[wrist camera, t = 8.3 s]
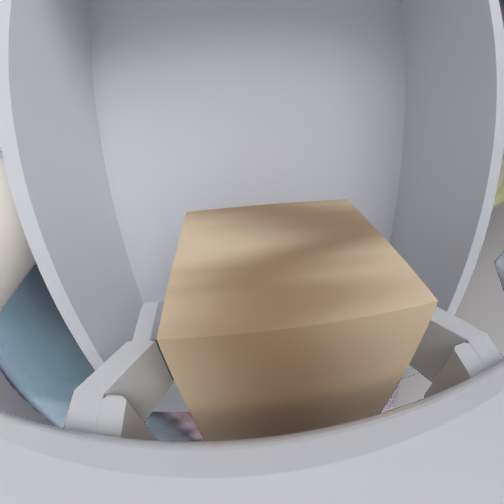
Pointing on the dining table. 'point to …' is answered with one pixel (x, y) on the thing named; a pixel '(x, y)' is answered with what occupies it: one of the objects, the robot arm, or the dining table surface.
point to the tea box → (500, 268)
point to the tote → (243, 134)
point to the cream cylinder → (11, 243)
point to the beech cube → (288, 318)
